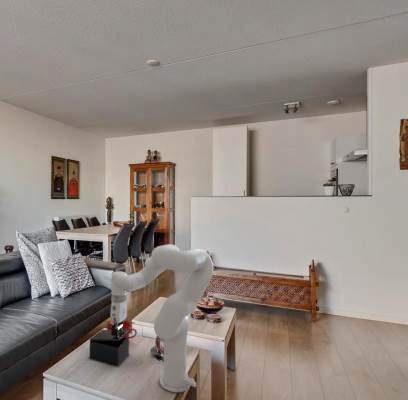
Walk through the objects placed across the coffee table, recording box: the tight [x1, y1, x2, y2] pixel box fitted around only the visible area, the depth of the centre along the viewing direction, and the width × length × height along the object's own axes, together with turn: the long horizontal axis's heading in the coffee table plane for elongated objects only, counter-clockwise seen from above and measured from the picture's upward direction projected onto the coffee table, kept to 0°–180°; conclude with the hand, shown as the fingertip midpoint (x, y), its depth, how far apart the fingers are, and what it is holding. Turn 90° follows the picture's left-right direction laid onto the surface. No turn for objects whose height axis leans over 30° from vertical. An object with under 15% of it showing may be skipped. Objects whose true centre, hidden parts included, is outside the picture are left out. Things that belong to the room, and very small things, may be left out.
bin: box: [89, 337, 130, 368], centre depth 155 cm, size 16×13×9 cm
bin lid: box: [89, 324, 131, 342], centre depth 156 cm, size 16×13×5 cm
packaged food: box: [149, 345, 164, 359], centre depth 158 cm, size 9×12×5 cm
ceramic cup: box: [106, 319, 138, 339], centre depth 171 cm, size 13×17×10 cm
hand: (117, 333), depth 153 cm, fingers closed on bin lid, 6 cm apart
